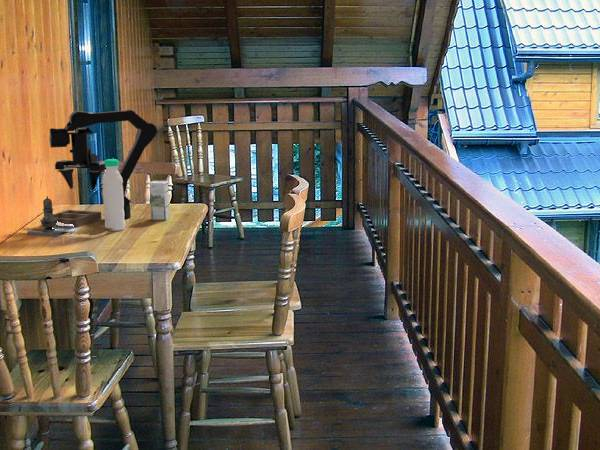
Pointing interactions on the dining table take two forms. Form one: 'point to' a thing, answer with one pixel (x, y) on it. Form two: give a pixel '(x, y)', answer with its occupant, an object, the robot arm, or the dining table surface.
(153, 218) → the syrup box
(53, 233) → the slate pad
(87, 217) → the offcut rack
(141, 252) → the dining table surface
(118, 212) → the white bottle
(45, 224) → the grey turned upright piece
